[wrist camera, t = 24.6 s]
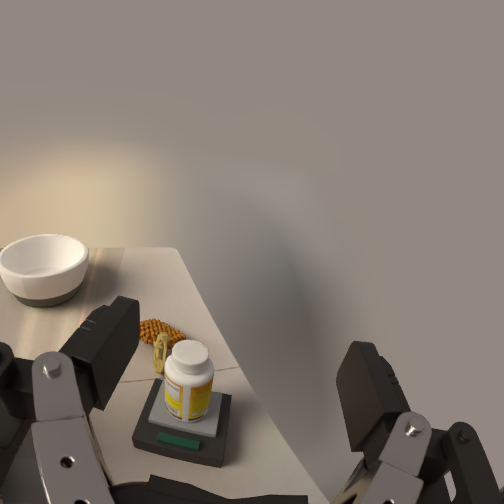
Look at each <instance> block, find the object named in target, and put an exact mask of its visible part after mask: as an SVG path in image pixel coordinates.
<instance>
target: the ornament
mask: <svg viewBox="0 0 504 504" xmlns="http://www.w3.org/2000/svg"><path fill="white" fill-rule="evenodd" d="M143 335H144V337H143ZM140 340H142V341H143V340H144V342H145V343H147V344H148V342H149V343H150V344H151V345H154V346H155V351H154V359H153V361H154V367H155V372H156V373H157V374H165V371H164V368H165V362H166V356H167V348H168V347H169V349H170V348H173V347H174V345H175V344H176V343H178V342H180V341H183V340H186V336H185V335H184V333H179V330H176V331H175V329H174V328H173V327H171V328H170V326H169V325H166V326H165V323H164V322H160V320H156V319H152V320H151V319H149V320H148V321H147V320H146V321H144V322H142V321H141V322H140ZM163 349H164V353H163ZM162 355H163V359H162Z"/></svg>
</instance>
